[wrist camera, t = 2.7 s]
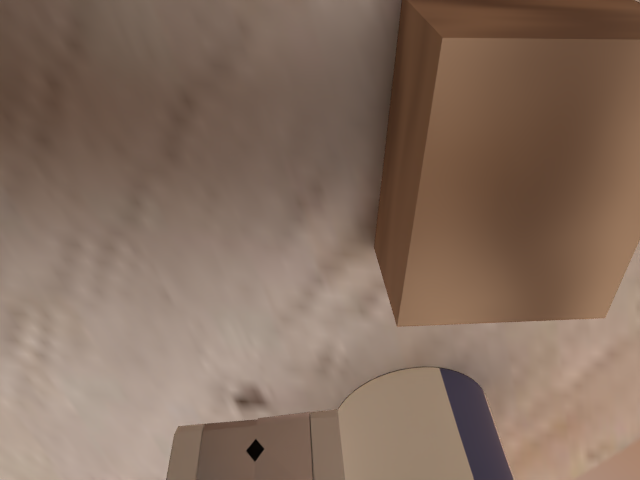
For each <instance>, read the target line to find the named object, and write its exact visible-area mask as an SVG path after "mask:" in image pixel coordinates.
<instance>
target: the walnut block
mask: <svg viewBox="0 0 640 480" xmlns="http://www.w3.org/2000/svg"><path fill="white" fill-rule="evenodd" d="M639 240H640V3H639V2H637V1H634V0H402V4H401V13H400V22H399V30H398V39H397V48H396V57H395V66H394V75H393V84H392V93H391V102H390V111H389V119H388V128H387V137H386V146H385V155H384V164H383V173H382V182H381V191H380V199H379V208H378V217H377V226H376V235H375V244H374V249H375V253H376V256H377V259H378V263H379V266H380V270H381V273H382V276H383V280H384V283H385V287H386V290H387V294H388V297H389V300H390V304H391V307H392V311H393V314H394V317H395V321H396V324H397V327H400V326H424V325H449V324H473V323H497V322H521V321H545V320H570V319H594V318H605V317H606V315H607V312H608V310H609V308H610V306H611V303H612V301H613V299H614V297H615V294H616V292H617V290H618V287H619V285H620V283H621V281H622V278H623V276H624V274H625V272H626V269H627V267H628V265H629V263H630V260H631V258H632V256H633V254H634V251H635V249H636V247H637V244H638V242H639Z"/></svg>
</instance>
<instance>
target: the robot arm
mask: <svg viewBox="0 0 640 480" xmlns="http://www.w3.org/2000/svg"><path fill="white" fill-rule="evenodd" d="M166 480H345V473H344V464H343V455H342V445H341V436H340V427H339V418H338V412H337V409H336V410H328V411H319V412H311V413H310V412H305V413H296V414H288V415H280V416H272V417H264V418H258V419H257V420H244V421H232V422H220V423H208V424H197V425H187V426H178V428H177V430H176V432H175V434H174V438H173V444H172V450H171V455H170V461H169V466H168V472H167V478H166Z"/></svg>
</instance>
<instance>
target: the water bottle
mask: <svg viewBox="0 0 640 480" xmlns="http://www.w3.org/2000/svg"><path fill="white" fill-rule="evenodd" d="M337 412H338V418H339V427H340V436H341V445H342V455H343V464H344V473H345V480H515V479H514V476H513V474H512V471H511V468H510V465H509V462H508V460H507V457H506V454H505V451H504V448H503V445H502V442H501V439H500V436H499V433H498V431H497V428H496V425H495V422H494V419H493V416H492V413H491V410H490V407H489V404H488V401H487V398H486V395H485V393H484V391H483V390H482V388H481V387H480V386H479V385H478V384H477V383H476V382H475V381H474V380H472V379H471V378H469V377H468V376H466V375H464V374H461V373H459V372H456V371H452V370H448V369H443V368H433V367H420V368H410V369H404V370H399V371H395V372H392V373H388V374H385V375H383V376H380V377H378V378H375V379H373V380H371V381H369V382H368V383H366V384H364V385H362V386H361V387H359V388H358V389H357V390H355V391H354V392H353V393H352V394H351V395H349V396H348V397H347V398H346V400H345V401H344V402H343V403H342V404H341V406H340V407H339V409H338V411H337Z"/></svg>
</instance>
